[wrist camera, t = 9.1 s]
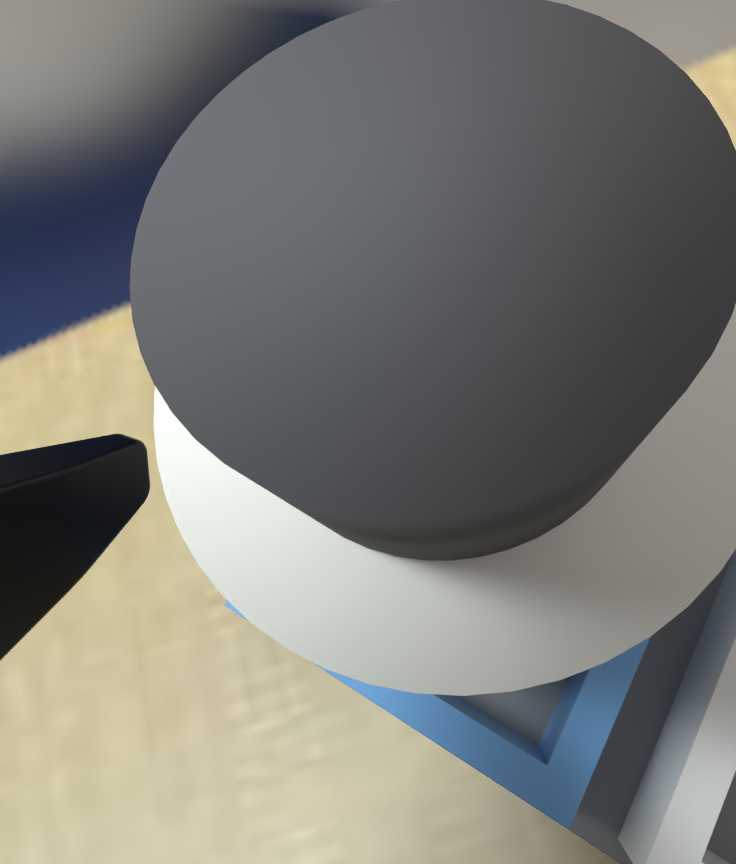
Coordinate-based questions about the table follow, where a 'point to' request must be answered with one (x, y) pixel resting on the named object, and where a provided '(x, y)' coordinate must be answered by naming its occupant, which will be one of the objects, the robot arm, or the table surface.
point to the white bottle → (449, 343)
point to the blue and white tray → (613, 738)
